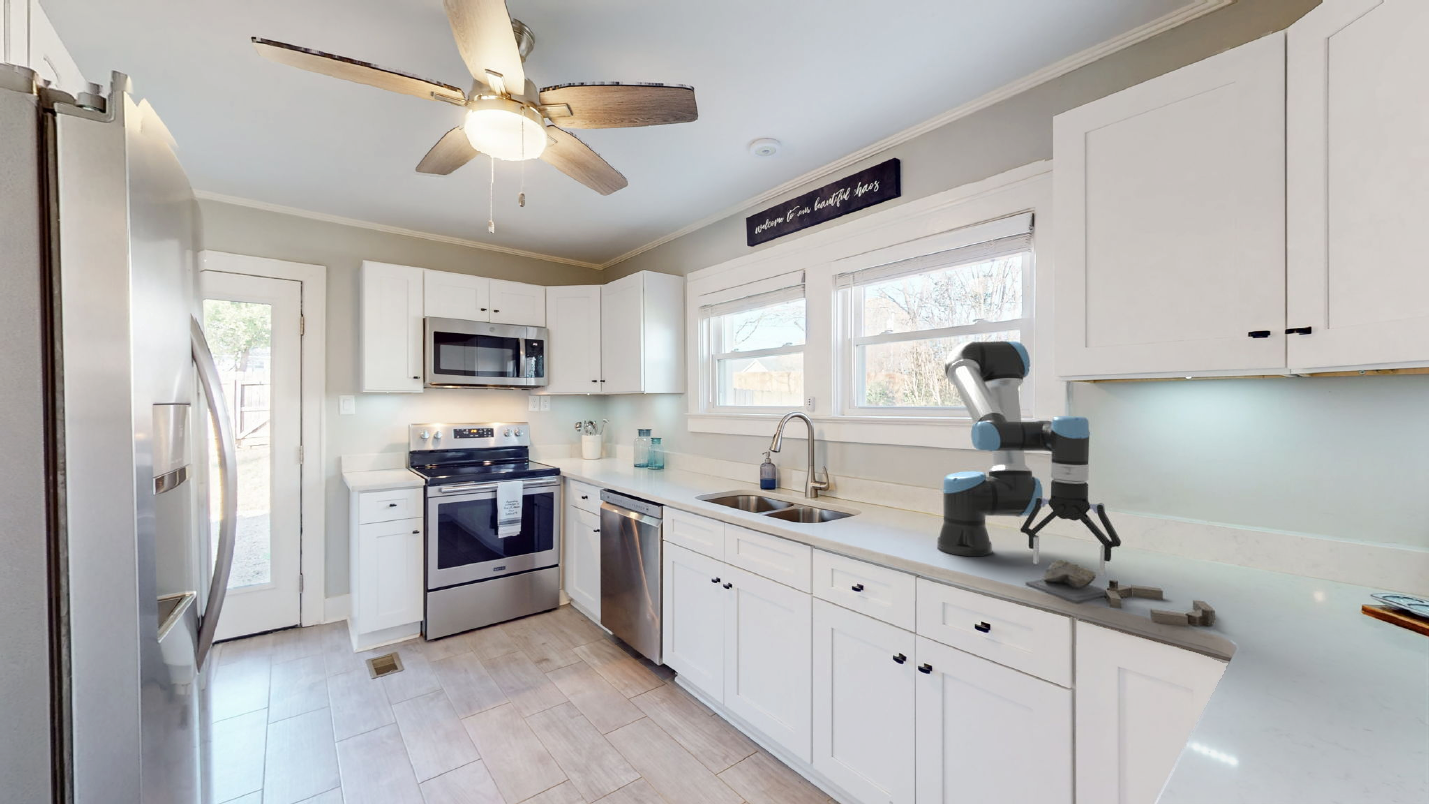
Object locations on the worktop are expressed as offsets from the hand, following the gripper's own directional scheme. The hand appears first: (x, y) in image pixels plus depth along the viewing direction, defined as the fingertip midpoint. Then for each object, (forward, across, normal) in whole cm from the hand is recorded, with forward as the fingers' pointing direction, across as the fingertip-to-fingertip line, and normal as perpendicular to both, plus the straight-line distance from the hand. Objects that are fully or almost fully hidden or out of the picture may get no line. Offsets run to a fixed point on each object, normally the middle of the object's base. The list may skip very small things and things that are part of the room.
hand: (1068, 568), depth 133 cm
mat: (+5, 0, 0) cm, 5 cm away
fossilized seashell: (+5, 0, 0) cm, 5 cm away
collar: (+5, +17, -2) cm, 18 cm away
